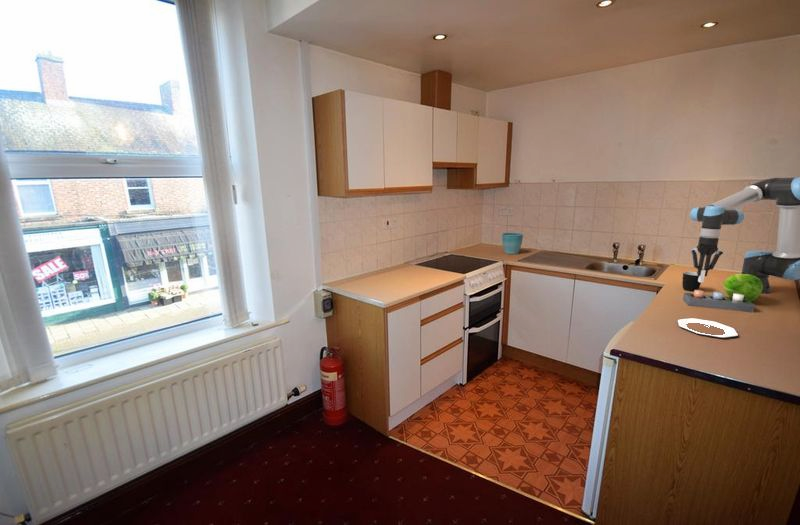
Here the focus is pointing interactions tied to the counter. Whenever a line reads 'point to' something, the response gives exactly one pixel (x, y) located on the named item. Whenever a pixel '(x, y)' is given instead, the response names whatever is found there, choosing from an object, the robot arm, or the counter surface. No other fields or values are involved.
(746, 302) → the panel
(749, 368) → the counter surface
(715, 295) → the key slate
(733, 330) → the plate
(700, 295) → the key rust
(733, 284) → the lettuce
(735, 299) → the key ivory
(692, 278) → the mug
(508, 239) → the flower pot
